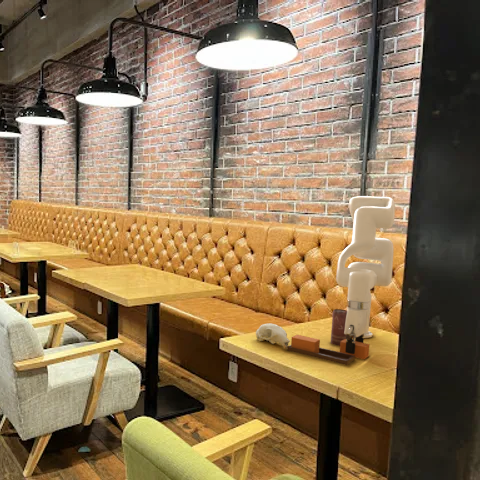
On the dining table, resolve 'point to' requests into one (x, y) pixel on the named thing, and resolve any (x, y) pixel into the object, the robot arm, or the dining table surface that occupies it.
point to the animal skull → (272, 334)
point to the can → (338, 326)
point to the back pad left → (305, 343)
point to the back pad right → (356, 349)
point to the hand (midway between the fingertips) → (354, 350)
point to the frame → (326, 355)
